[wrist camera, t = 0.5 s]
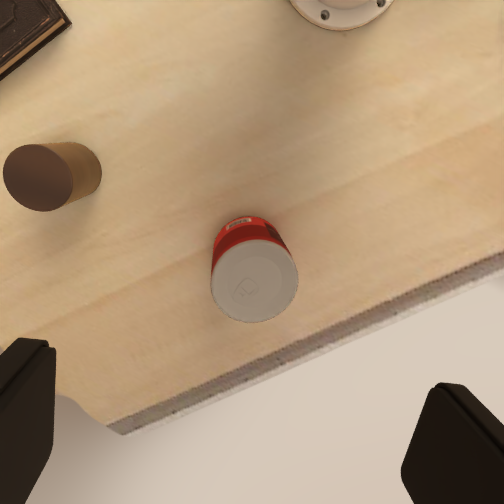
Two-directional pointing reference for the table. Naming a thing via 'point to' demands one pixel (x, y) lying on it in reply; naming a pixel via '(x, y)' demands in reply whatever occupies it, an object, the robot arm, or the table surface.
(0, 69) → the hardcover book
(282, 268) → the canned food
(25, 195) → the walnut cylinder
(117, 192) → the table surface
